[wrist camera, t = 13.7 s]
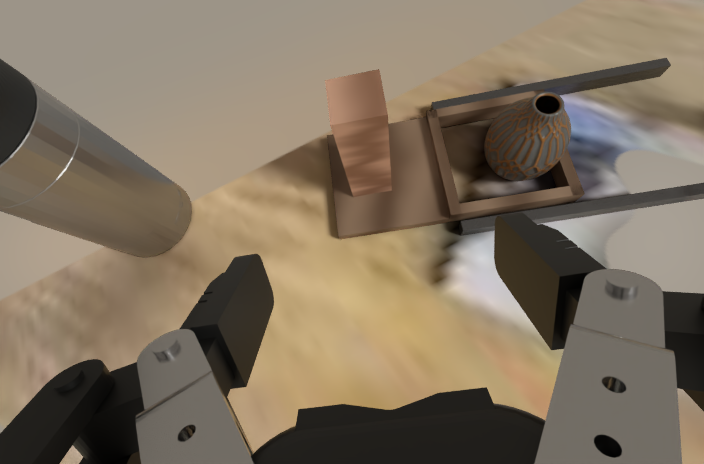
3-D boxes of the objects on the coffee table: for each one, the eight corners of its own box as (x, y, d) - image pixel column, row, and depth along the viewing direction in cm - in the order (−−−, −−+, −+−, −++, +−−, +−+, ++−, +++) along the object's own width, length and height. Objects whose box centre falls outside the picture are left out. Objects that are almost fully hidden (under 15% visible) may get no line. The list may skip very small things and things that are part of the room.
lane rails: (460, 235, 33) (463, 230, 31) (430, 111, 38) (431, 102, 36) (724, 195, 31) (740, 188, 29) (656, 69, 36) (666, 57, 34)
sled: (340, 239, 34) (306, 181, 22) (328, 140, 38) (295, 44, 26) (573, 202, 32) (680, 115, 20) (536, 102, 36) (606, -22, 24)
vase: (464, 152, 36) (484, 94, 27) (519, 121, 36) (555, 55, 28) (504, 202, 33) (539, 156, 25) (563, 169, 33) (617, 113, 25)
